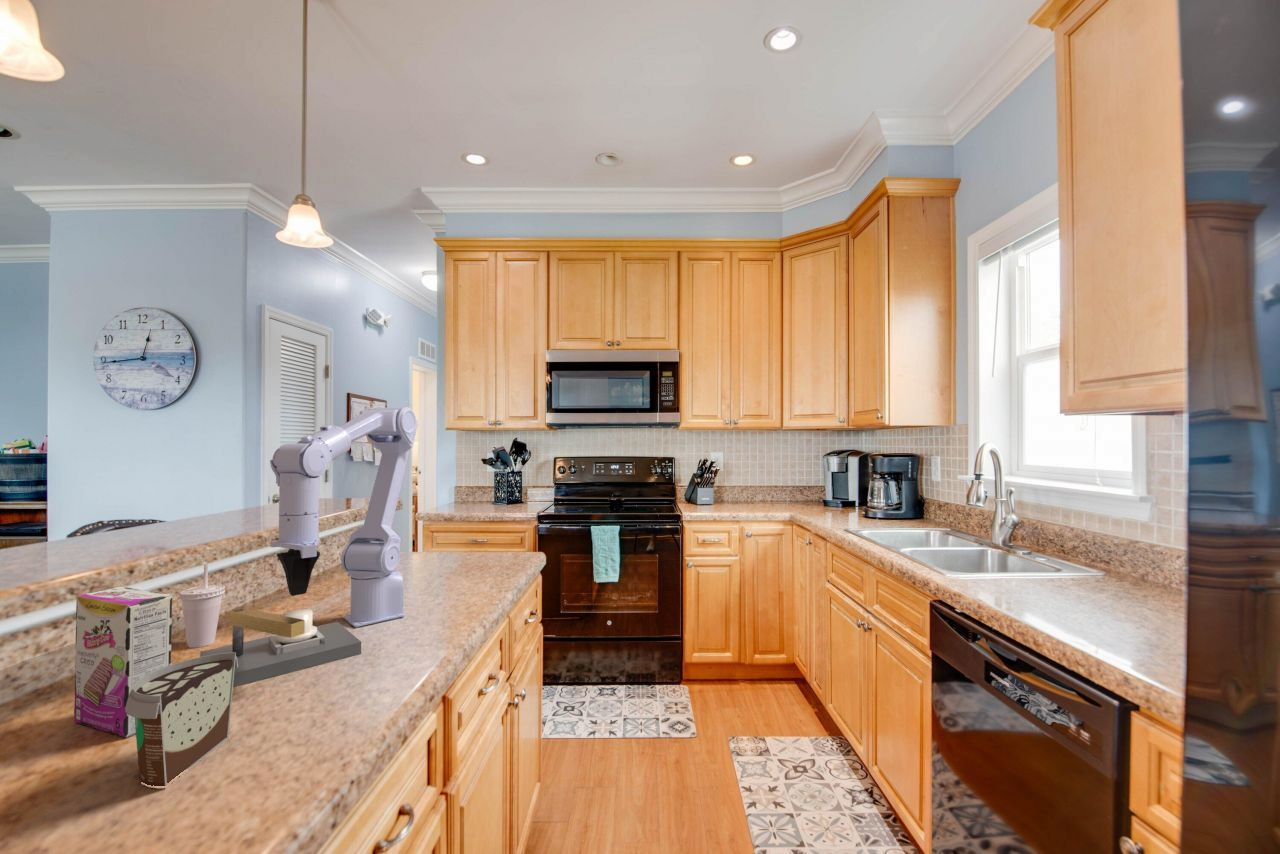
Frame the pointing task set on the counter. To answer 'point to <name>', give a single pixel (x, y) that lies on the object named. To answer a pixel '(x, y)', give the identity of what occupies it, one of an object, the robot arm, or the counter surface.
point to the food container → (181, 714)
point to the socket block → (290, 653)
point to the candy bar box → (117, 652)
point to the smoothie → (201, 612)
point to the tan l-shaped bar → (262, 626)
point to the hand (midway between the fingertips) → (298, 594)
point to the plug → (308, 630)
